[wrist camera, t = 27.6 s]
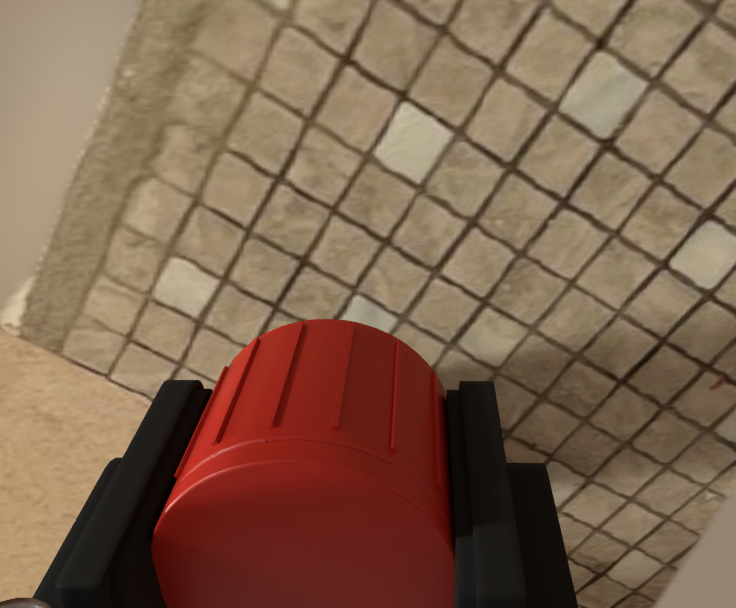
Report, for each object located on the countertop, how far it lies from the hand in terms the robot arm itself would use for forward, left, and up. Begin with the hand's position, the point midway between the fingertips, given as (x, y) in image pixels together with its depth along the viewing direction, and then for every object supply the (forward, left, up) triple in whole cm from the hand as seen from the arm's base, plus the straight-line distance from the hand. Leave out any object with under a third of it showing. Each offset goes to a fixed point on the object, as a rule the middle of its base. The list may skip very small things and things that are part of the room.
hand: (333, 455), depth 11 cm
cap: (+1, 0, 0) cm, 1 cm away
